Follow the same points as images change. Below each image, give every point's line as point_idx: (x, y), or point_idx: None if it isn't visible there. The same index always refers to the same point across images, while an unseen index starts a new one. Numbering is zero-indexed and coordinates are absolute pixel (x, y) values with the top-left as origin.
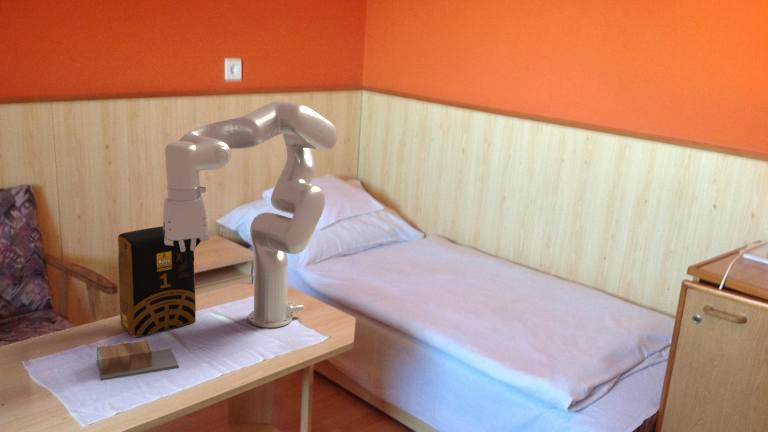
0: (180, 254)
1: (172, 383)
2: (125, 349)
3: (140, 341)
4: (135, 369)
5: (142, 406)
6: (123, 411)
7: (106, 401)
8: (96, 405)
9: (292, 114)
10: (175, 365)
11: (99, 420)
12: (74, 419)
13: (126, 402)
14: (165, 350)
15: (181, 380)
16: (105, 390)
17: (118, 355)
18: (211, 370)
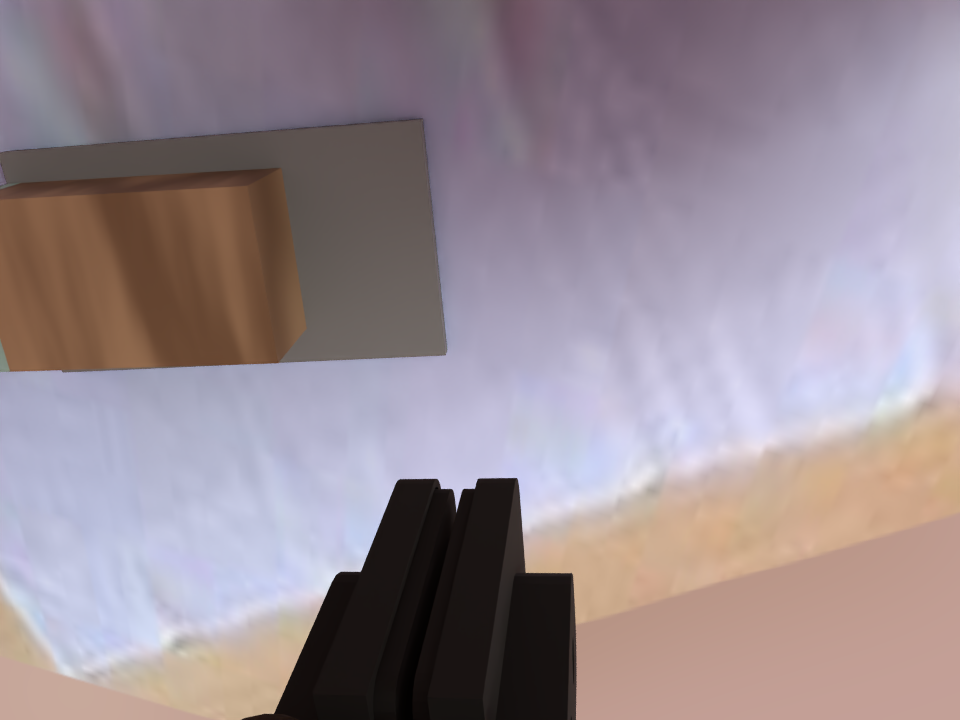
0: (300, 662)
1: None
2: (123, 288)
3: (204, 196)
4: None
5: (271, 627)
6: (200, 637)
7: (124, 550)
8: (89, 566)
9: None
10: (428, 351)
11: (119, 665)
12: (27, 632)
13: (206, 581)
14: (385, 143)
15: (446, 480)
16: (105, 463)
17: (93, 353)
18: (609, 429)
